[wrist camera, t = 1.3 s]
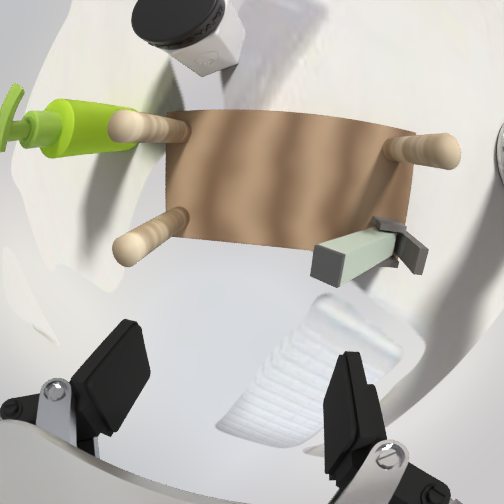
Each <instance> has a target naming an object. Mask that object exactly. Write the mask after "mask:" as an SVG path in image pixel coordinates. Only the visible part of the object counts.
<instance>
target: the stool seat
mask: <svg viewBox="0 0 504 504" xmlns="http://www.w3.org/2000/svg"><path fill="white" fill-rule="evenodd" d="M107 131H108V135H109V137H110V139H111V140H112V141H114V142H116V143H166V212H165V213H163V214H161V215H159V216H157V217H155V218H153V219H151V220H150V221H148V222H146V223H144V224H142V225H140V226H138V227H137V228H135V229H133V230H131V231H129V232H127V233H126V234H124V235H122V236H120V237H119V238H117V239H116V240H115V241H114V243H113V246H112V251H113V255H114V257H115V259H116V260H117V262H118V263H119V264H121V265H122V266H125V267H131V266H133V265H135V264H136V263H137V262H138V261H140V260H141V259H142V258H144V257H145V256H146V255H148V254H149V253H150V252H152V251H153V250H154V249H155V248H157V247H158V246H159V245H161V244H162V243H163V242H165V241H166V240H168V239H169V238H170V237H182V238H192V239H202V240H212V241H223V242H233V243H243V244H253V245H263V246H273V247H283V248H292V249H303V250H311V251H314V245H317V244H320V243H323V242H326V241H330V240H333V239H336V238H339V237H343V236H346V235H349V234H352V233H355V232H359V231H362V230H365V229H368V228H371V227H375V226H377V227H378V228H379V229H380V230H386V231H393V232H397V235H396V240H395V245H394V250H393V254H392V256H390V257H388V258H387V259H385V260H383V261H382V262H380V263H379V264H377V265H375V266H383V267H393V268H398V264H399V261H398V257H399V258H400V259H401V260H402V261H403V262H404V264H405V265H406V266H407V267H408V268H409V269H410V271H411V272H412V273H413V274H417V275H422V273H423V270H424V266H425V262H426V258H427V254H428V250H429V249H428V248H426V247H425V246H424V245H423V244H422V243H420V242H419V241H418V240H417V239H416V238H414V237H413V236H412V235H411V234H409V233H408V232H407V231H406V228H407V227H406V226H405V222H406V216H407V210H408V204H409V197H410V190H411V183H412V175H413V166H414V164H417V165H423V166H429V167H435V168H441V169H446V170H451V169H454V168H455V167H457V166H458V164H459V162H460V159H461V148H460V145H459V143H458V141H457V140H456V139H455V138H454V137H453V136H452V135H450V134H447V133H441V134H427V135H416V133H414V132H410V131H406V130H402V129H398V128H394V127H389V126H384V125H379V124H374V123H369V122H364V121H358V120H352V119H346V118H339V117H332V116H324V115H316V114H306V113H295V112H283V111H265V110H195V111H176V112H168V115H167V117H162V116H157V115H152V114H147V113H141V112H136V111H130V110H119V111H117V112H115V113H114V114H113V115H112V116H111V118H110V120H109V122H108V127H107Z"/></svg>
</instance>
